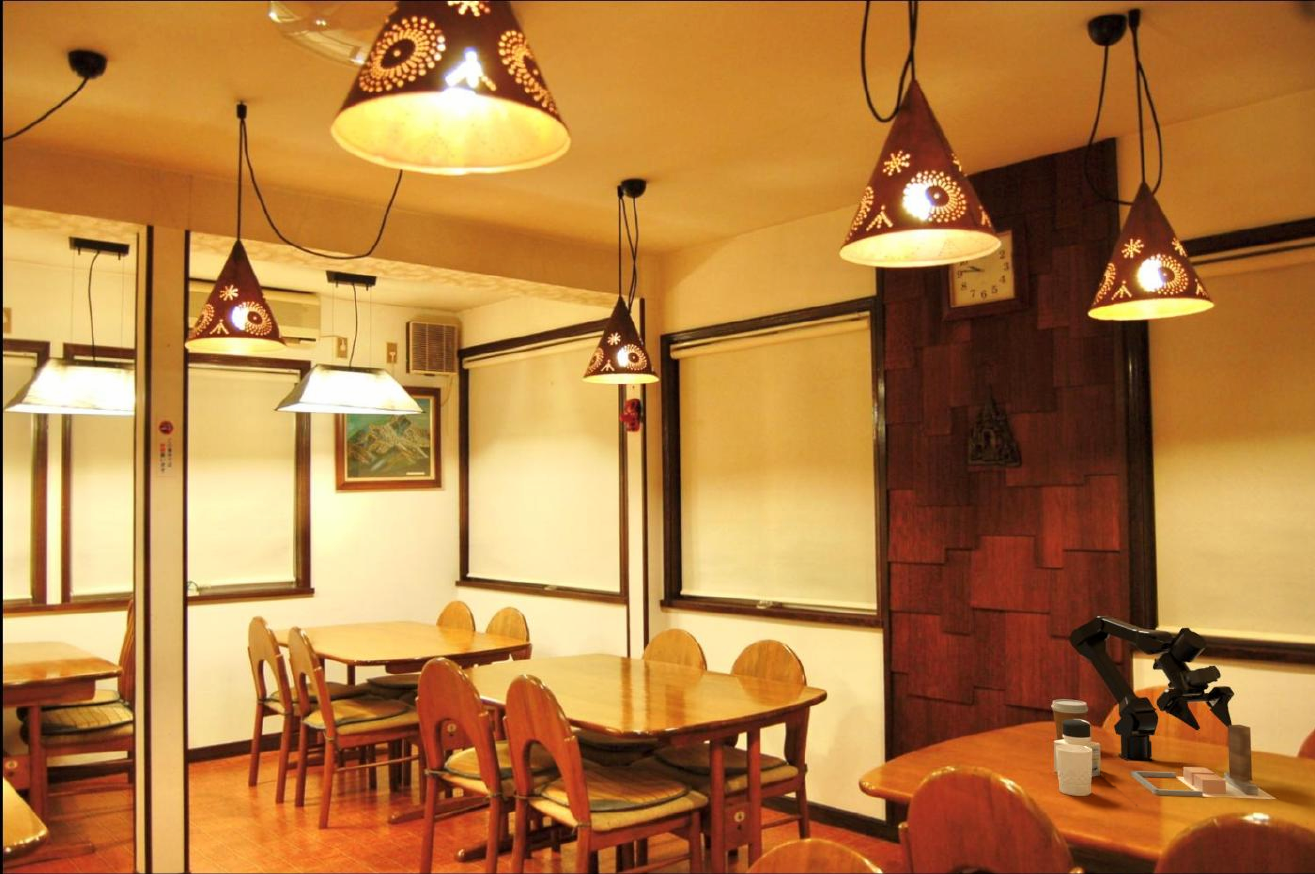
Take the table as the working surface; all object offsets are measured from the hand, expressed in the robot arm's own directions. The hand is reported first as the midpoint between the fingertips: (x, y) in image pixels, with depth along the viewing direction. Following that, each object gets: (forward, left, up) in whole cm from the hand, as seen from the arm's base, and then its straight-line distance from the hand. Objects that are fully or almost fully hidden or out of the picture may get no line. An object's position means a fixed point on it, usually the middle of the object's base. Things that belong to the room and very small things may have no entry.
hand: (1214, 728), depth 247 cm
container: (-28, +11, -13) cm, 33 cm away
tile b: (-6, -3, -12) cm, 14 cm away
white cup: (-36, -5, -13) cm, 39 cm away
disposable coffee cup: (-17, +39, -13) cm, 45 cm away
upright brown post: (+2, -7, -12) cm, 14 cm away
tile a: (-7, -9, -12) cm, 17 cm away
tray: (-15, -4, -13) cm, 20 cm away
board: (-2, -7, -13) cm, 15 cm away
